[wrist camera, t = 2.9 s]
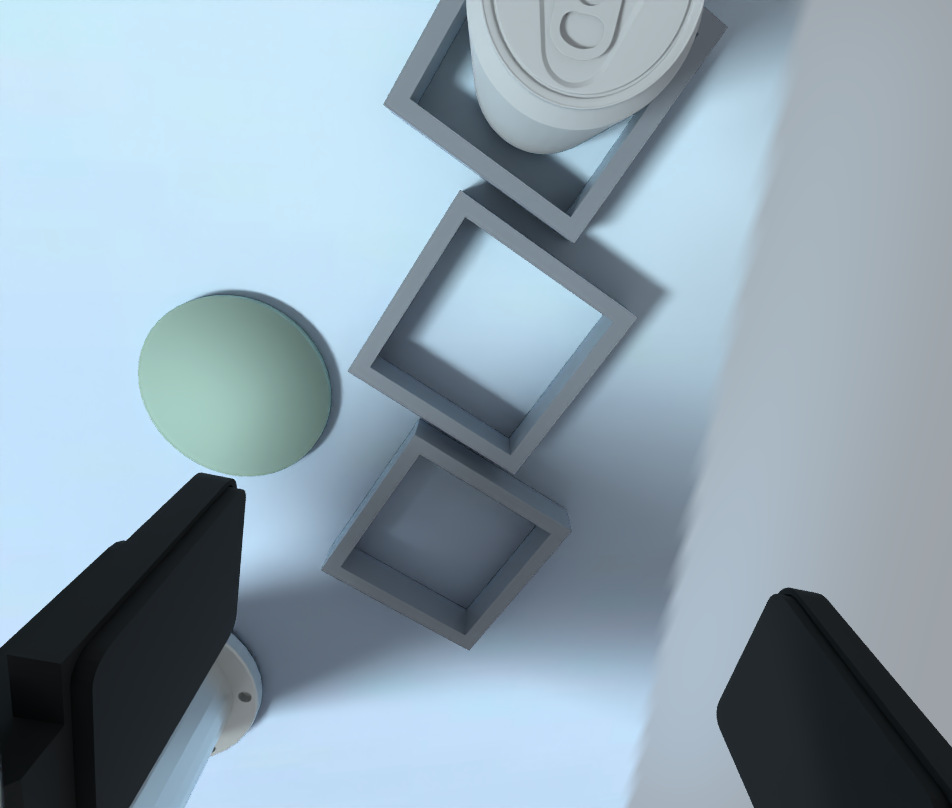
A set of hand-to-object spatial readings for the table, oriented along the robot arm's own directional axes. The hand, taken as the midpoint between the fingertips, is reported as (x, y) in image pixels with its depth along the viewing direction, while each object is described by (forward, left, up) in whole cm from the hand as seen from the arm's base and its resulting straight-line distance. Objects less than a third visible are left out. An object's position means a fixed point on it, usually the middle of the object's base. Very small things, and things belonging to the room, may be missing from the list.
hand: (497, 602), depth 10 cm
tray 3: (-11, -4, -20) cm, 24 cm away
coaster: (-10, +10, -20) cm, 25 cm away
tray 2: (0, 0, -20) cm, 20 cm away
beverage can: (+11, +5, -21) cm, 24 cm away
